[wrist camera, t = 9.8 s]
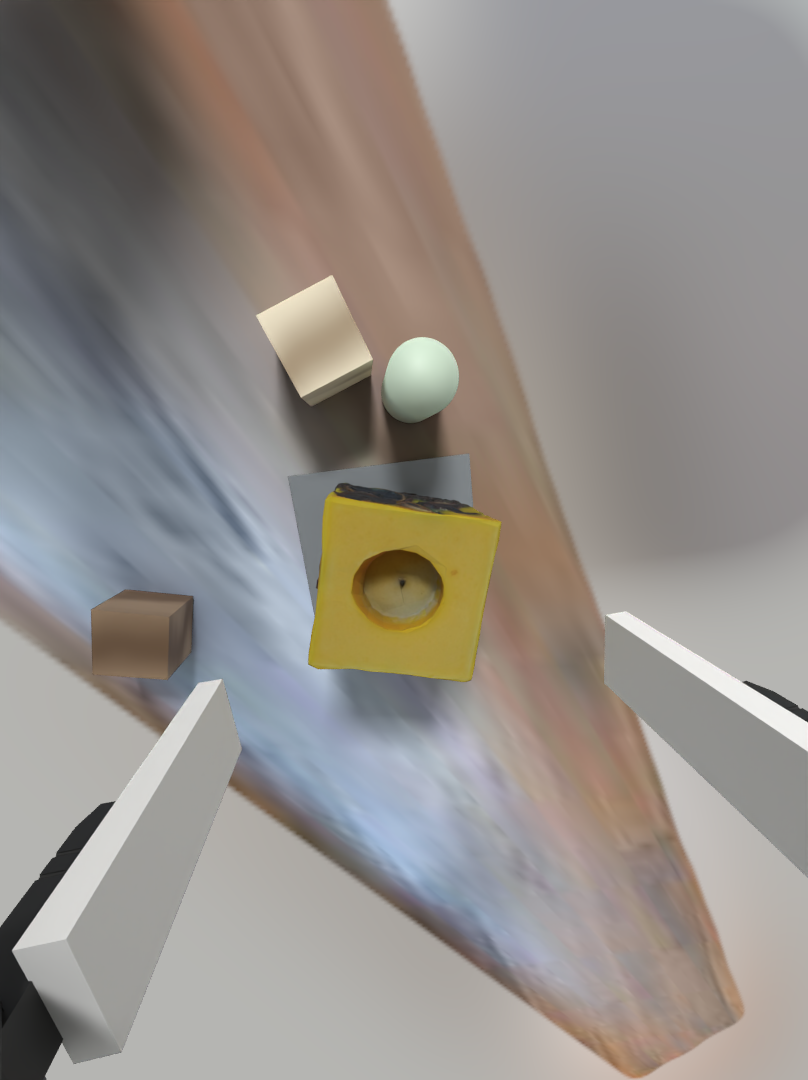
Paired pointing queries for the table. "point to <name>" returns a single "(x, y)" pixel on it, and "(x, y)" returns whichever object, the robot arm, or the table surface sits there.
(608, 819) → the table surface
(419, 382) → the sage capsule
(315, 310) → the maple block
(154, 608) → the walnut block
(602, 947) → the table surface
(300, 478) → the coaster
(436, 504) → the candle
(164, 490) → the table surface
